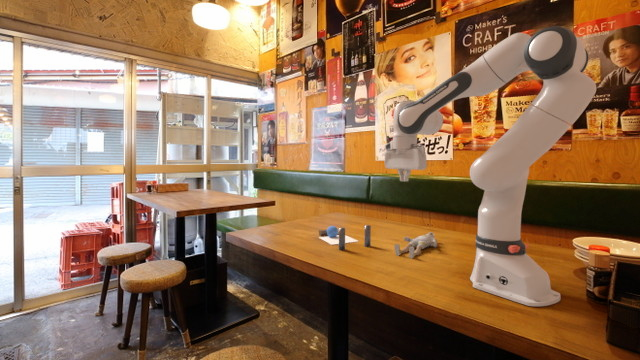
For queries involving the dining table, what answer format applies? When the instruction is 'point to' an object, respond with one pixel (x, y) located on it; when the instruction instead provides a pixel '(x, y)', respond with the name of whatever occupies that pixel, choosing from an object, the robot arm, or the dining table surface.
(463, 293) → the dining table surface
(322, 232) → the strip
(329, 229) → the ball
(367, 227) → the post right
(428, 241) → the figurine
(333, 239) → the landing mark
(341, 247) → the post left
